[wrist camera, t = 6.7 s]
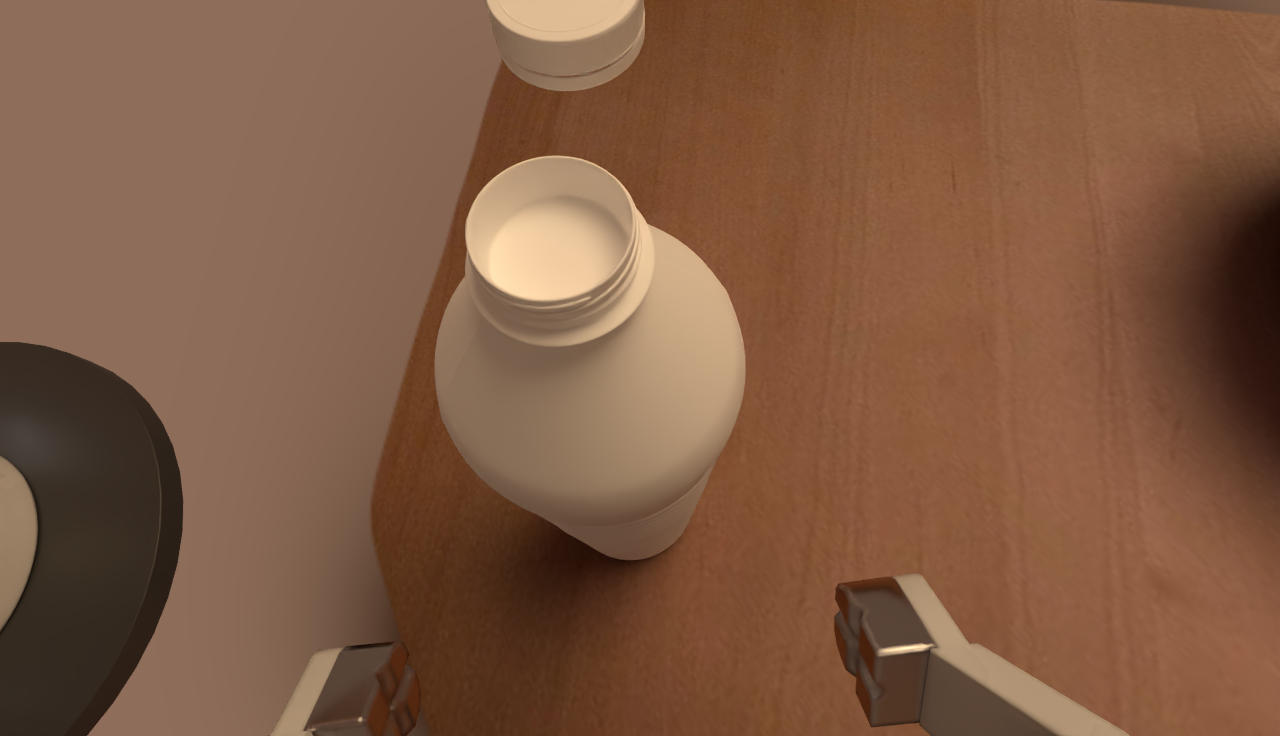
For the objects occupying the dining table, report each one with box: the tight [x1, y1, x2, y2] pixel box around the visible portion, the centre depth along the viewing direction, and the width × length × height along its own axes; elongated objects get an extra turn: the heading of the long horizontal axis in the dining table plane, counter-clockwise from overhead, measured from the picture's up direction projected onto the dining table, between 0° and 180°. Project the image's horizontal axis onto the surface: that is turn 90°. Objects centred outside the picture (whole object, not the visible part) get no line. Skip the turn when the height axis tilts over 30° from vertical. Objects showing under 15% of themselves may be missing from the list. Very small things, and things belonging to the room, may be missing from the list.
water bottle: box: [435, 0, 745, 560], centre depth 20 cm, size 9×6×25 cm
